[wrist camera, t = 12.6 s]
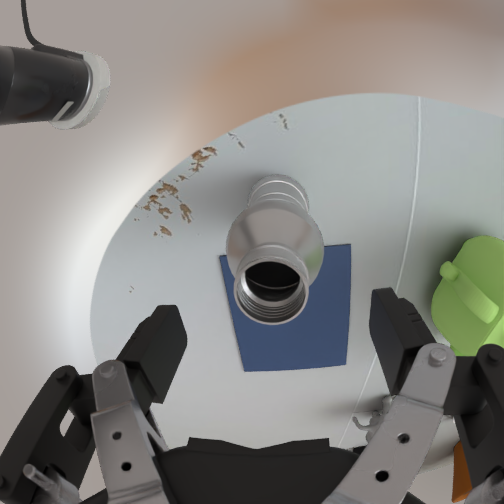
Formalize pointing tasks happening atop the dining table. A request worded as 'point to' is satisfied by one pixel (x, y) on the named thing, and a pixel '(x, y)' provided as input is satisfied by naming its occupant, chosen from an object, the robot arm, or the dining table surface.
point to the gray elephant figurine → (375, 419)
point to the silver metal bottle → (274, 251)
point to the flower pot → (460, 475)
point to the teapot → (472, 297)
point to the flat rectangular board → (300, 322)
